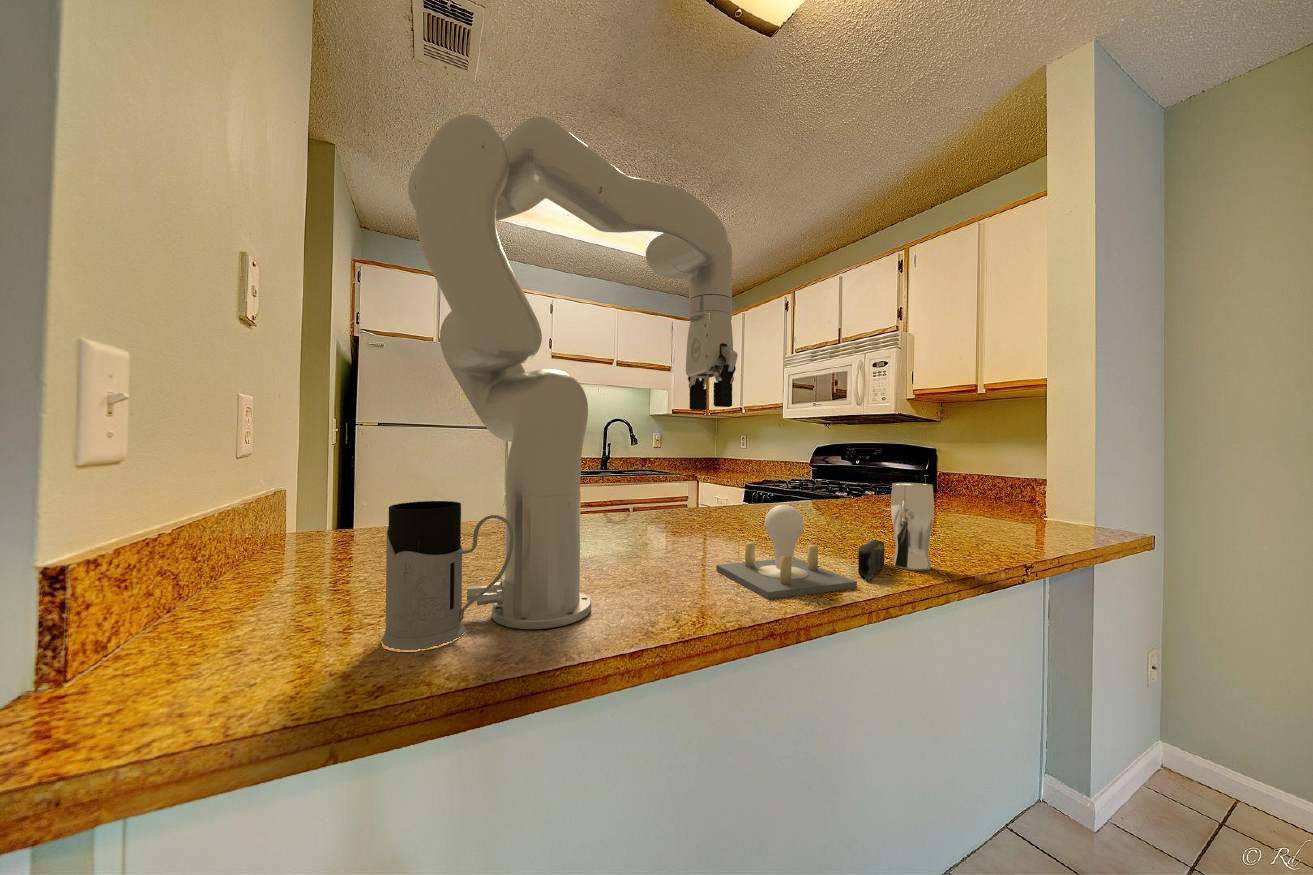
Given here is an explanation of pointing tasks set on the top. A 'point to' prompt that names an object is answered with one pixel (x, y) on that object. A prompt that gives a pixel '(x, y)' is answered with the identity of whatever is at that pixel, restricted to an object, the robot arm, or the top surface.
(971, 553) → the top surface
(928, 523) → the beer glass
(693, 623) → the top surface
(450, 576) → the glass holder
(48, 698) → the top surface
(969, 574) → the top surface
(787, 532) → the lightbulb
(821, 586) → the pin board
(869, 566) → the mobile phone
